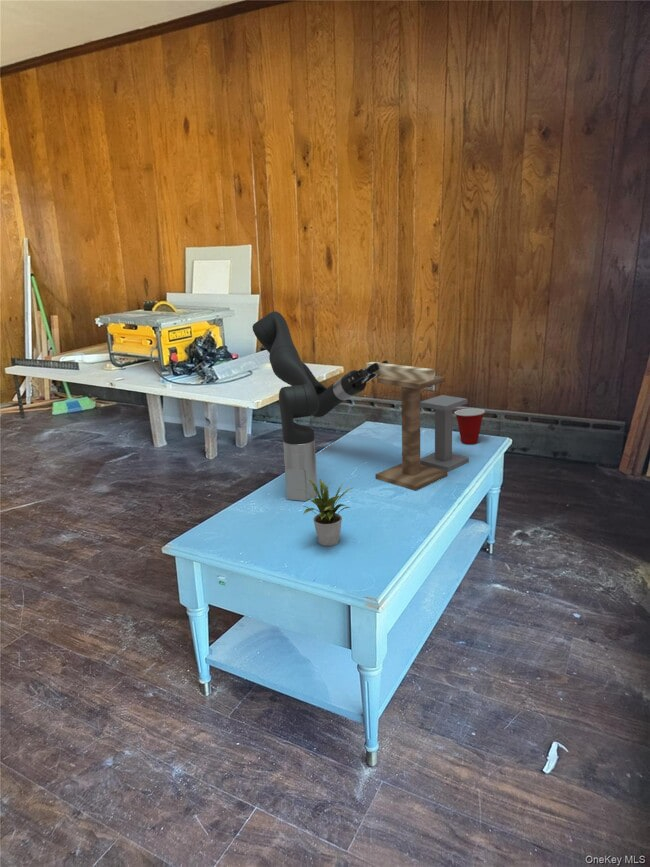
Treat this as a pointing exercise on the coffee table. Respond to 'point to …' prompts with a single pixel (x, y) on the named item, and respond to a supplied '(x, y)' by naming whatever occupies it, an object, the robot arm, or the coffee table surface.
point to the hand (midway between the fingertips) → (382, 364)
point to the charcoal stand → (443, 433)
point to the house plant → (327, 515)
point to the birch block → (404, 371)
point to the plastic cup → (469, 424)
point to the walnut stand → (410, 437)
